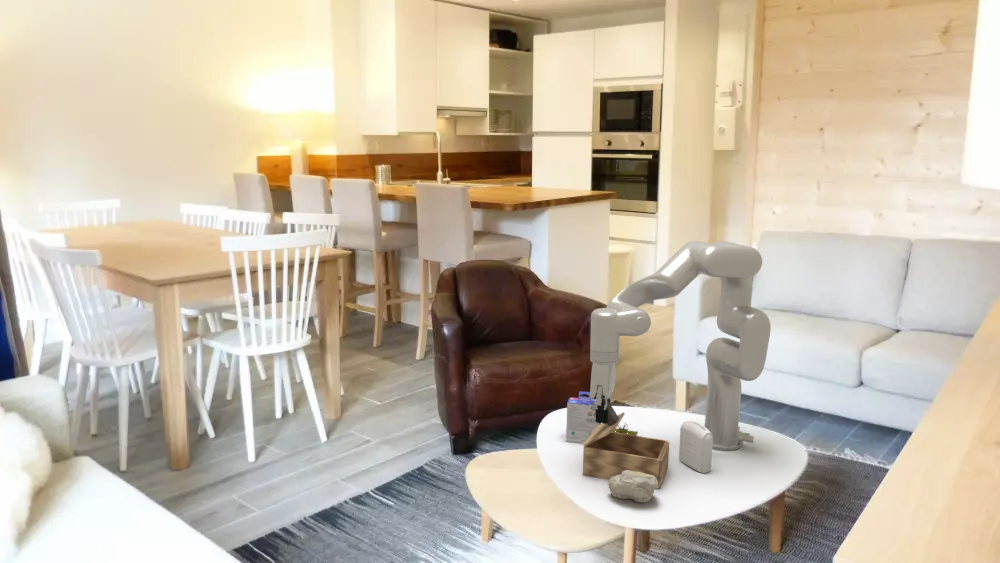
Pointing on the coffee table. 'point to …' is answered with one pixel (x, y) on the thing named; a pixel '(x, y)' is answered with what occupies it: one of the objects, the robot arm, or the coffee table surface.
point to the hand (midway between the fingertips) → (603, 419)
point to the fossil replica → (633, 486)
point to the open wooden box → (626, 456)
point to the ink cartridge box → (580, 418)
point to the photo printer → (696, 446)
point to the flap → (605, 425)
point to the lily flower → (625, 430)
